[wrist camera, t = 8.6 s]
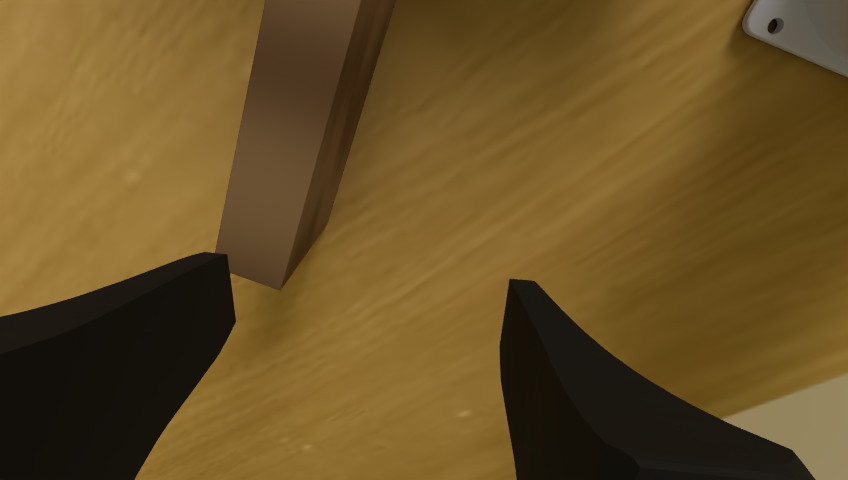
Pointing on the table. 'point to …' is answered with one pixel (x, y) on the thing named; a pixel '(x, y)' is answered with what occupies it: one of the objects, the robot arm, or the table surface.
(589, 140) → the table surface
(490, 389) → the table surface
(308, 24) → the rail
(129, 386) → the robot arm
